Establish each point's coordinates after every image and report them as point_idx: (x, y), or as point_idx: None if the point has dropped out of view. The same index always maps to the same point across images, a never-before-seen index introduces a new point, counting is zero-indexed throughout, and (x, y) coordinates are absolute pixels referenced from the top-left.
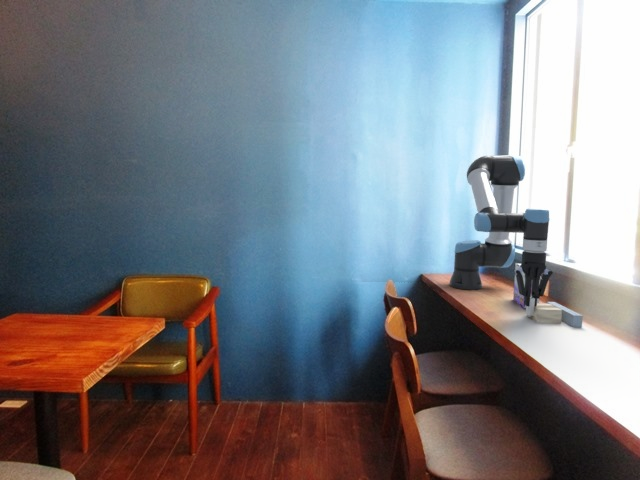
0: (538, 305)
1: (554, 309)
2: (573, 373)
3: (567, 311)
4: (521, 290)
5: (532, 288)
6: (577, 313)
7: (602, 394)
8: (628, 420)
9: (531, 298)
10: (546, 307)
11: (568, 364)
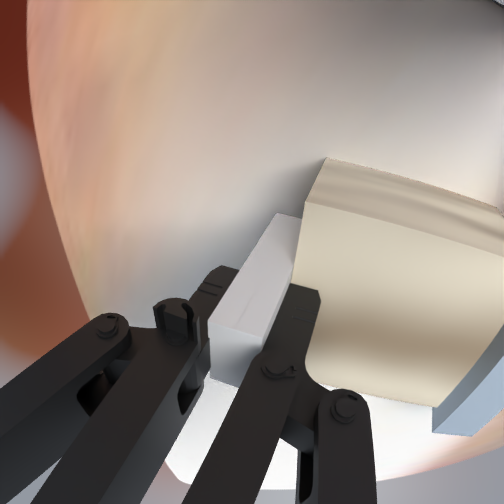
0: (361, 302)
1: (395, 395)
2: (181, 458)
3: (483, 390)
4: (78, 396)
5: (210, 457)
6: (489, 416)
7: (189, 474)
8: (186, 482)
9: (219, 378)
10: (381, 358)
11: (189, 453)
